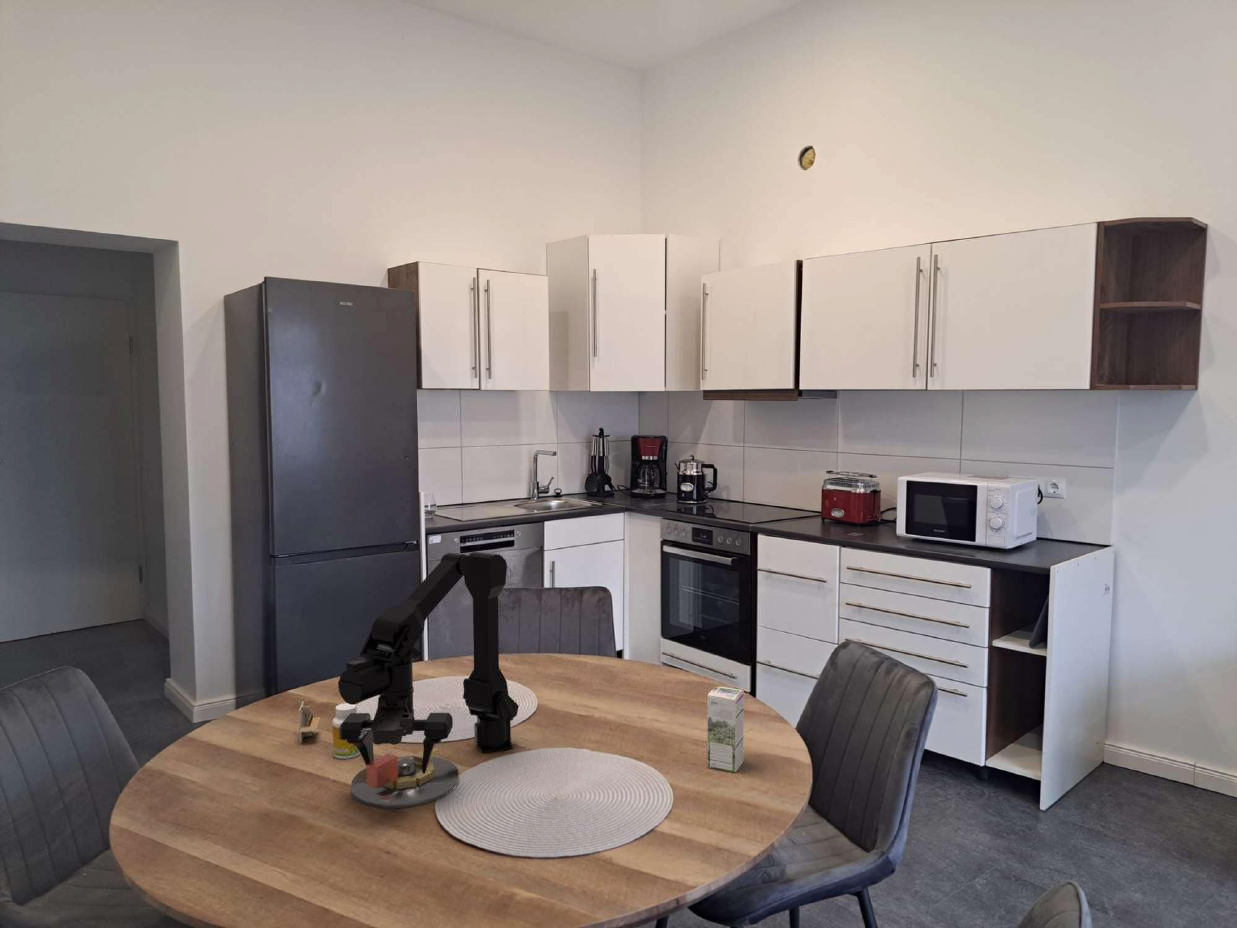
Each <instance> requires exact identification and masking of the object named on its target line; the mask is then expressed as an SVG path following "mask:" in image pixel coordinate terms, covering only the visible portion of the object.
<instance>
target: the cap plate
mask: <svg viewBox="0 0 1237 928" xmlns="http://www.w3.org/2000/svg"><path fill="white" fill-rule="evenodd" d="M405 758H407V759H405ZM409 758H413V755H411V756H410V755H409V756H407V755H406V756H399V757H398V756H397V759H401V760H398V777H406V776H413V775H415V774H417V773H419V772H421V771H420V770H417V769H416V762H415V760H414V759H409ZM429 761H431V763H432V762H433V766H434V776H433V778H432V779H430V780H429V781H427V782H425V783H423V784H422V785H417V784H416V787H409V788H401V789H397V787H395V788H394V789H392V788H388V787H385V786H382V787H380V788H378V789H376V788H373V787H369V786H367V767H364V768H363V769H362V770H360V771H359V772H358V773H356V775H355V776H354V777H353V779H352V781H351V786H350V788H351V795H352V797H353V798H354V800H356V801H357V802H359V803H360V804H362V805H365V806H368V807H372V808H378V809H386V810H387V809H390V810H391V809H392V810H393V809H394V810H395V809H407V808H414V807H419V806H422V805H425V804H430V803H433V802H435V801H437V799H438V800H440V799H442V798H444V797H445V796H444V795H446V794H447V793H449V792H450V791H451V790H452V791H454V789H455V788H456V787H457V786H456V785H458V783H459V781H458V780H459V769H458V768H457V766H456V765H455V764H454V763H453V762H451V761H449V760H447V759H444V758H441V757H438V756H437V757H435V758H433V759H431V760H429ZM455 786H456V787H455ZM454 787H455V788H454ZM453 788H454V789H453ZM452 791H451V792H452ZM451 792H450V793H451ZM450 793H449V794H450ZM447 795H448V794H447ZM447 795H446V796H447ZM443 796H444V797H443ZM441 797H442V798H441ZM439 798H440V799H439Z"/></svg>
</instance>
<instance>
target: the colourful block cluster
mask: <svg viewBox="0 0 1237 928" xmlns="http://www.w3.org/2000/svg"><path fill="white" fill-rule="evenodd" d="M423 750H424V749H422V750H420V751H418V752H417V753H414V754H412V756H413V758H409V759H414V760H415V762H416V769H417V770H420V771H421V772H419V773H417V774H415V775H413V776H406V777H398V760H401V759H397V758H398V756H396V755H393V754H389V753H386V754H384V755H382V756H380V757H378V758H377V759H374V761H372V762H370V763H368V764H367V767H366V768H367V786H369V787H373V788H376V789H378V788H380V787H382V786H385V787H388V788H392V789H394V788H395V787H397V789H401V788H409V787H416V784H417V785H422V784H423V783H425V782H427V781H429V780H430V779H432V778H433V776H434V766H433V762H432V763H431V761H429V763H428V766H427V769H426V772H425V774H423V773H422V761H423ZM438 756H440V749H439V748H436V747H433V750H432V753H431V757H430V760H431V759H433V758H435V757H437V758H438ZM405 759H407V758H405Z"/></svg>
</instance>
